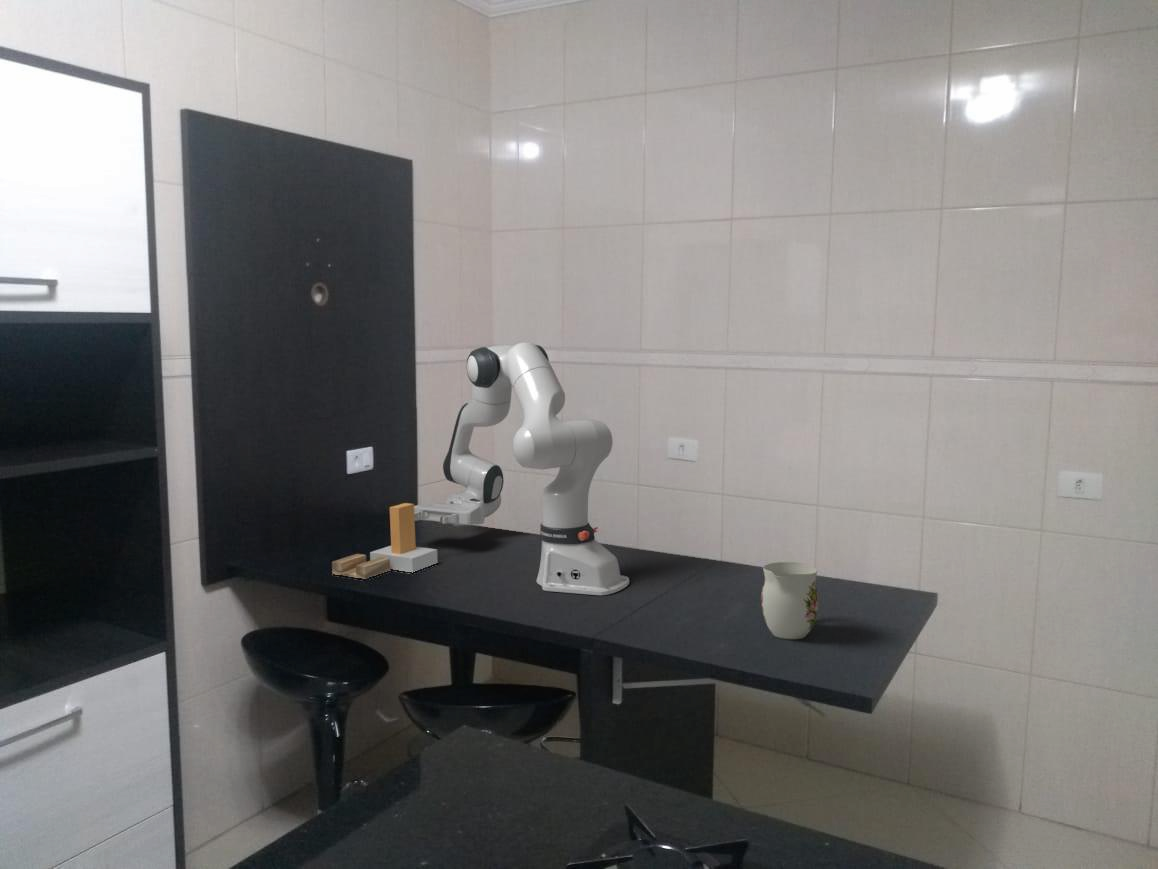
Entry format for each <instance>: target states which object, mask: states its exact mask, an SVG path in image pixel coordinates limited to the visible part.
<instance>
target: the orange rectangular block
mask: <svg viewBox="0 0 1158 869" xmlns="http://www.w3.org/2000/svg"><path fill="white" fill-rule="evenodd" d="M414 506H415V504H414V503H408V502H404V503H400V504H397V505H393V506H390V507H389V521H390V522H389V524H390V528H389V529H390V546H391V552H392V553H395V554H403V553H406V552H408V551H411V550H414V549H416V547H417V544H416V521H415V517H414Z"/></svg>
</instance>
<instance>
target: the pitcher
mask: <svg viewBox="0 0 1158 869" xmlns="http://www.w3.org/2000/svg"><path fill="white" fill-rule="evenodd" d="M762 569H763V575H764V583H763V586H762V588H761V595H760V596H761V597H760V600H761V601H760V602H761V609H762V610H761V611H762V615H763V618H764V621H765V624H766V625H767V627H768V630H769V631H770V632H771V634H772V635H773V636H775V637H777V638H779V639H784V640H801V639H804V638H805V637H807V635H808V634H809V633H810V632H811V631H812V628H813V627H814V624H815V622H816V620H817V616H818V612H819V592H818V591H819V590H818V589H817V585H816V580H817V579H816V578H817V574H818V569H817V568H816V567H815V566H814V565H813V566H812V565H810V564H807V563H803V562H802V563H800V562H795V561H794V562H792V561H779V562H771V563H768V564H765V565H764V566H763V567H762Z"/></svg>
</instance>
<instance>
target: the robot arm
mask: <svg viewBox="0 0 1158 869" xmlns="http://www.w3.org/2000/svg"><path fill="white" fill-rule="evenodd" d="M466 372H467V377H468V379H469V381H470V382H471V383H472V384H471V393H470V398H469V401H468V402H466V403H465V404H463V405H462V406H461V408H460V409H459V412H458V414H457V417H456V421H455V424H454V429H453V433H452V435H451V436H452V437H451V440H450V444H449V447H448V452H447V453H446V455H445V457H444V461H443V464H442V471H443V474H444V477H445V479H446V480H447V481H449V482H451V483H454V484H457V485H460V486H462V487H464V488H466V491H465V492H460V493H456V494H453V495H450V496H448V497H447V499H445V501H444V503H439V502H438V503H437V502H426V503H421V504H416V505H414V517H415V522H417V521H430V522H438V523H440V524H441V525H442V524H443V525H445V524H446V525H447V524H451V526H452V525H453V526H455V527H462V526H473V525H482V524H484V523H485V518H488V517H489V516H491V515H493V514H494V513H495V512H497V510H499V508H500V506H501V503H502V496H501V493H502V490H503V489H504V488H503V487H504V481H505V480H504V473H503V471H502V468H501V467H500V465H498V464H496V463H493V462H492V461H490V460H487V459H485V458H482V457H481V456H478V455H476V454H474V453H473V452H471V450H470V448H469V447H470V442H471V439H472V435H473V432H474V428H476V427H478V428H480V427H482V428H487V427H491V426H492V427H493V426H496V425H497V424H500V423H502V422H503V421H504V420H505V419H506V418H507V417H508V414H509V412H510V408H511V401H512V391H514V393H515V396H516V398H517V400H518V403H519V405H520V409H521V410H522V414H523V415H522V416H523V419H522V421H523V422H522V425H521V426H520V427H519V428H518V429H517V431H516V432H515V435H514V437H513V439H512V446H511V447H512V452H513V453H512V454H513V456H514V458H515V460H516V462H517V463H518V464H519V465H520V466H521V467H523V468H526V469H534V470H549V469H558V468H559V471H558V472H557V475H556V476H555V478H554V480H553V481H551V482H550V483H549V484H548V485H547V486H546V487H545V488H544V489H543V490H542V493H541V523H540V526H539V527H540V528H539V529H540V531H539V532H540V533H539V534H540V544H541V554H540V555H541V556H540V561H539V569H538V574H537V578H536V583H537V584H538V585H540V586H541V587H542V588H541V589H542V591H544V592H555V593H556V592H557V593H567V594H580V595H592V596H607V595H611V594H614V593H618V592H619V591H621V590H623V589H625V588H626V587H628V586H629V585H630V579H629V576H625V575H621V570H620V566H619V562H618V559H617V556H615V555H614V554H613V553H612V552H610V551H609V550H608V549H607V548H606V547H604V545H602V544H601V543H600V542H598V541H597V539H596V536H595V533H597V532H598V526H597V527H592V525H591V524H590V522H589V517H588V516H589V494H590V488H591V484H592V481H593V478H594V476H595V474H596V471H597V470H598V468H599V467H600V466H601V464H602V463H603V462H604V460H606V459H607V458H608V457H609V455H610V453H611V451H612V448H613V443H614V442H613V434H612V432H611V430H610V428H609V426H608V425H607V424H606V423H605V422H603V421H600V420H595V419H589V418H581V419H567V420H560V419H559V418H558V417H557V415H558V414H559V413H560V412H561V411H562V409H563V408H564V406H565V403H566V394H565V391H564V388H563V387H562V385H561V383H560V381H559V379H558V377H557V375H556V373H555V370H554V368H553V367H552V364H551V363H550V359H549V355H548V353H547V351H546V350H545V349H544V347H542V346H541V345H538V344H535V343H533V342H528V341H523V342H519V343H516V344H500V345H492V346H487V347H486V346H481V347H479V348H475V349H474V350H472V351H471V352H470V353H469V354H468V356H467V359H466Z"/></svg>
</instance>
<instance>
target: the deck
mask: <svg viewBox="0 0 1158 869" xmlns="http://www.w3.org/2000/svg"><path fill="white" fill-rule="evenodd" d="M379 557H383V558H390V569H393V570H399V571H405V572H412V573H413V572H415V571H418V570H420V569H423V568H425V567H428V566H431V565H433V564H436V563H439V562H438V561H439V560H438V549H437V548H436V549H435V548H429V547H421V546H416V549H414V550H411V551H408V552H406V553H403V554H395V553H392V552H391V545H388V546H385V547H383V548H379V549H375V550H373V551H370V552H369V558H370V559H369V561H371V560H374V559H377V558H379Z"/></svg>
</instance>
